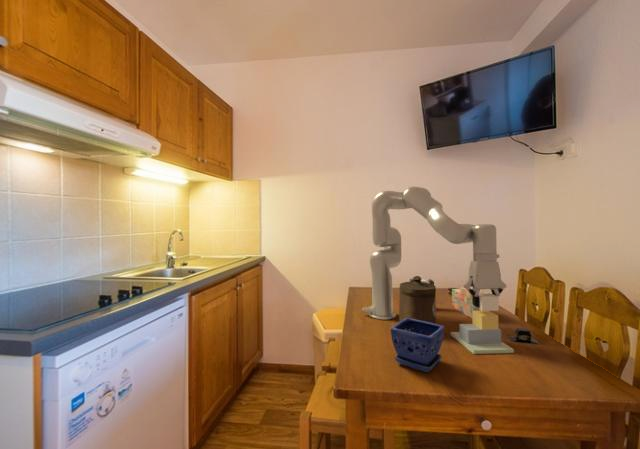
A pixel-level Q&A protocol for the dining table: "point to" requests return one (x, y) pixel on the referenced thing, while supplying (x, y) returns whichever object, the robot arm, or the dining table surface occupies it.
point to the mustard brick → (485, 320)
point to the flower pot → (417, 343)
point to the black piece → (522, 339)
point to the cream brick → (488, 302)
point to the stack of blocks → (463, 301)
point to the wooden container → (417, 301)
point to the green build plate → (483, 346)
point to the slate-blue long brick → (479, 334)
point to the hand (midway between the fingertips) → (485, 306)
